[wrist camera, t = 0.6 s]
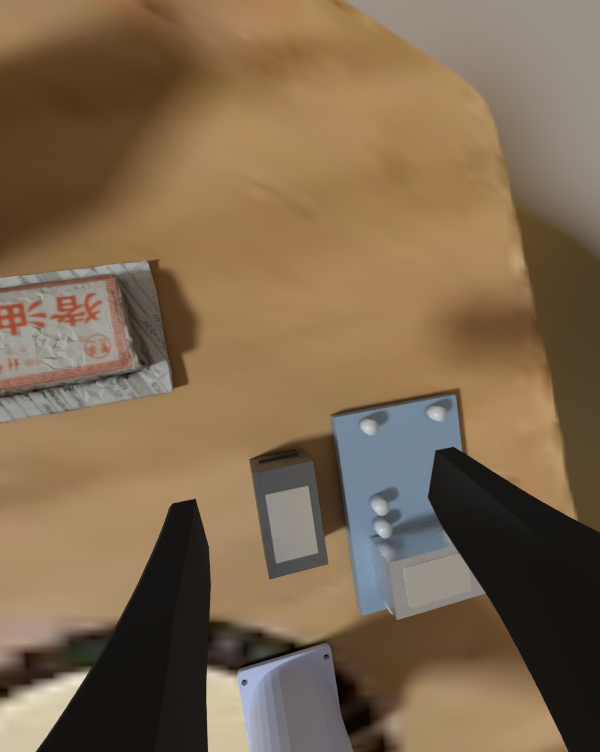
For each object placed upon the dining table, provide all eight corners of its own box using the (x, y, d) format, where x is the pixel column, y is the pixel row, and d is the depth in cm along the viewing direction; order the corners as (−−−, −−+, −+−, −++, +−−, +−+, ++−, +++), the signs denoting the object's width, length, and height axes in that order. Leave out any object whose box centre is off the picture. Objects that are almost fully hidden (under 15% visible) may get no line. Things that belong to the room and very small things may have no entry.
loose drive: (302, 446, 32) (313, 459, 28) (315, 538, 32) (328, 564, 28) (248, 457, 31) (252, 472, 27) (264, 551, 32) (269, 580, 28)
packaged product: (-153, 456, 22) (-200, 283, 21) (-85, 438, 27) (-122, 297, 26) (168, 396, 25) (137, 244, 24) (177, 390, 30) (152, 263, 29)
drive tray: (469, 574, 35) (488, 592, 33) (357, 606, 33) (369, 628, 31) (447, 393, 34) (466, 396, 31) (330, 415, 32) (339, 420, 29)
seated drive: (461, 564, 34) (493, 592, 30) (375, 588, 32) (397, 621, 28) (455, 515, 33) (487, 537, 29) (368, 537, 32) (389, 563, 28)
